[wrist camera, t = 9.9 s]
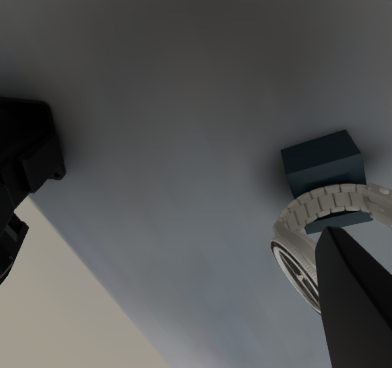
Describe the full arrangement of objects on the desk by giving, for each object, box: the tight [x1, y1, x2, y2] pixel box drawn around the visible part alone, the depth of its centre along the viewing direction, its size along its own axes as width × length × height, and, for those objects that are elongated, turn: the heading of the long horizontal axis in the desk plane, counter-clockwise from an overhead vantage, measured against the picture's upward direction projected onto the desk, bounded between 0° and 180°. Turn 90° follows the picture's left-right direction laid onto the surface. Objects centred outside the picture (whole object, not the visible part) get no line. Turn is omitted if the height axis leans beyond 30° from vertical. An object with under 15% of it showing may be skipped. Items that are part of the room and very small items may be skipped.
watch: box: [270, 130, 392, 315], centre depth 18 cm, size 6×8×11 cm
